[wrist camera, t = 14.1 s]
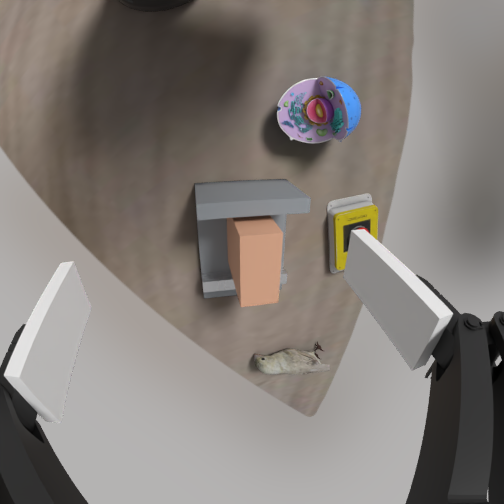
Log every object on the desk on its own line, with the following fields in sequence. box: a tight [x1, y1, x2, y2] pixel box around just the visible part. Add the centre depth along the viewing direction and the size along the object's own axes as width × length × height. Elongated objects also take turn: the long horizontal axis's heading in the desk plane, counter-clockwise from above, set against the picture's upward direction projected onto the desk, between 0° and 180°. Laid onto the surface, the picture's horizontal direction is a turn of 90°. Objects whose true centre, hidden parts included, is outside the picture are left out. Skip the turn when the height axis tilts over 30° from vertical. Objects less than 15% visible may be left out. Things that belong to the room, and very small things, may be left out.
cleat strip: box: [202, 266, 287, 292], centre depth 47 cm, size 2×14×2 cm, turn 89°
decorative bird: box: [254, 342, 330, 375], centre depth 59 cm, size 5×16×7 cm, turn 83°
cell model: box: [277, 76, 361, 143], centre depth 35 cm, size 10×12×10 cm
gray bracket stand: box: [195, 179, 311, 298], centre depth 42 cm, size 20×14×10 cm
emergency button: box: [327, 194, 378, 273], centre depth 49 cm, size 9×4×15 cm
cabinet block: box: [227, 215, 283, 307], centre depth 40 cm, size 11×5×12 cm, turn 179°
